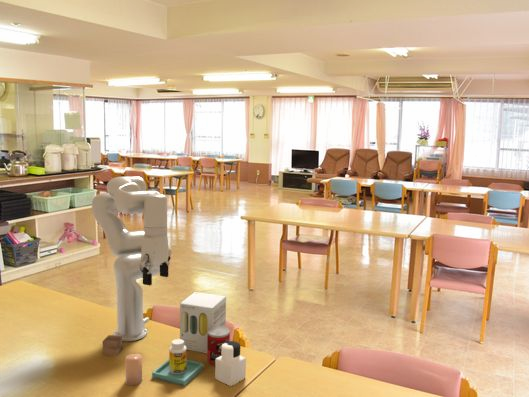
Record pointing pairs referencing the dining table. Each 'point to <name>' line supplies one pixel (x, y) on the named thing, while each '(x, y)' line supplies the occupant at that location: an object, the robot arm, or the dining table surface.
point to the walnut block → (112, 345)
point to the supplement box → (200, 319)
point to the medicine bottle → (230, 364)
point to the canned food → (216, 342)
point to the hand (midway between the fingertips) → (155, 280)
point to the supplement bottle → (177, 357)
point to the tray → (179, 379)
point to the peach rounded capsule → (133, 369)
